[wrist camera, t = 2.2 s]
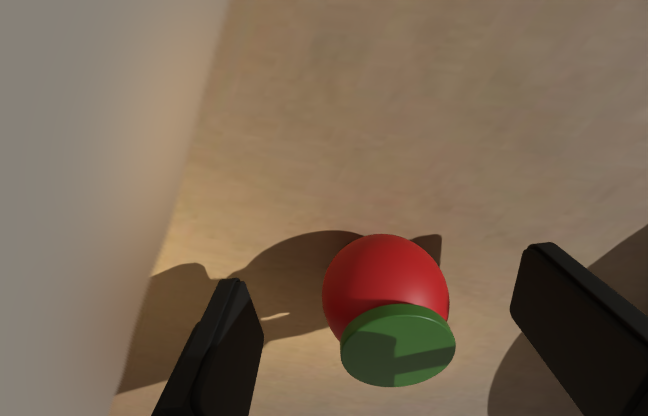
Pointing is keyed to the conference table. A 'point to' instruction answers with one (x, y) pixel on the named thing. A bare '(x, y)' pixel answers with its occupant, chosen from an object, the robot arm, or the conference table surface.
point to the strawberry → (388, 311)
